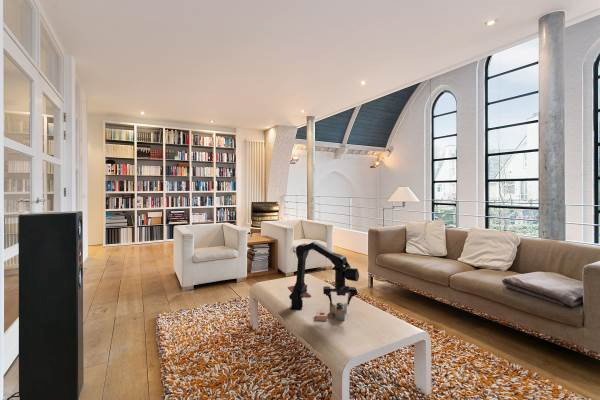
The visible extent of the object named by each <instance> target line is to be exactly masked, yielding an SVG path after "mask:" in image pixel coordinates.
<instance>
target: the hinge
mask: <svg viewBox="0 0 600 400" xmlns="http://www.w3.org/2000/svg"><path fill="white" fill-rule="evenodd" d="M347 312H348V306H347V302H345V303H343V306H342V307H341V309H338V306H336V304H334V303H333V302H332V306H331V303H330V302H329V314H331V315H332V314H333V315H332V316H333V317H334V320H335V321H337V320H338V321H340V320H341V321H344V322H345V320H346V319H345V317H346V315H347Z"/></svg>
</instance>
